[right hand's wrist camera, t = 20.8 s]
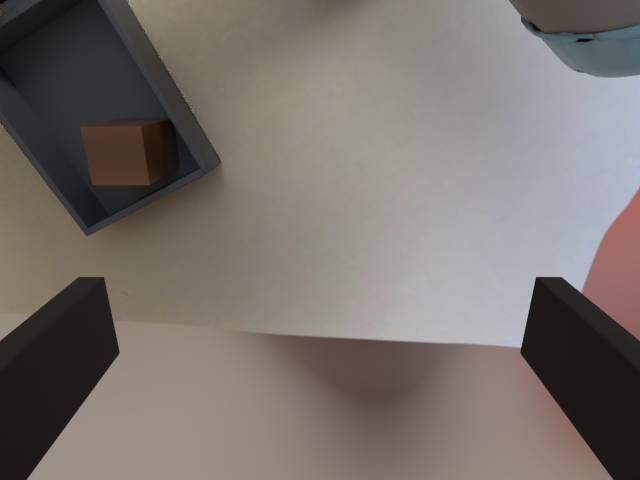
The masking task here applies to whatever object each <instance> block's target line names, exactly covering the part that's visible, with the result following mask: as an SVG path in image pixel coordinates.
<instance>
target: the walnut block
mask: <svg viewBox="0 0 640 480" xmlns="http://www.w3.org/2000/svg"><path fill="white" fill-rule="evenodd" d="M81 131H82V136H83V141H84V146H85V151H86V155H87V160H88V165H89V170H90V175H91V180H92V185H94V186H100V185H151V184H152V183H154V182H156V181H157V180H159V179H160V178H162V177H164V176H165V175H167V174H169V173H170V172H172V171H173V170H175V169H177V168H178V167H180V164H179V156H178V148H177V141H176V133H175V126H174V124H173V123H172V121H171V119H170V118H122V119H117V120H112V121H106V122H101V123H96V124H91V125H86V126H81Z"/></svg>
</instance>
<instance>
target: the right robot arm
mask: <svg viewBox="0 0 640 480" xmlns="http://www.w3.org/2000/svg"><path fill="white" fill-rule="evenodd" d="M509 1H510V2H511V3H512V5H513V6H514V7H515V8H516V10H517V11H518V12H519V14H520V15H521V21H522V23H523V24H524V26H525V27H526V29H527V30H528V31H530V32H531V33H532V34H534V35H536V36H538V37H540V38H542V39H543V41H544V42H545V43H546V44H547V45H548V46H549V47H550V48H551V50H552V51H553V52H554V53H555V54H556V55H557V56H558V57H559V58H560V60H561V61H562V62H563V63H564V64H565V65H567V66H568V67H570V68H571V69H573V70H575V71H577V72H582V73H587V74H589V75H594V76H597V77H626V76H634V75H640V0H509ZM119 353H120V352H119V347H118V343H117V338H116V333H115V328H114V323H113V319H112V314H111V309H110V304H109V299H108V295H107V290H106V285H105V280H104V277H78V278H77V279H76V280H75V281H73V282H72V283H71V284H70V285H68V286H67V287H66V288H65V289H63V290H62V291H61V292H60V293H59V294H57V295H56V296H55V297H54V298H52V299H51V300H50V301H49V302H48V303H46V304H45V305H44V306H43V307H41V308H40V309H39V310H38V311H37V312H35V313H34V314H33V315H32V316H30V317H29V318H28V319H27V320H26V321H24V322H23V323H22V324H21V325H19V326H18V327H17V328H16V329H14V330H13V331H12V332H11V333H10V334H8V335H7V336H6V337H5V338H3V339H2V340H1V341H0V480H27V478H28V477H29V476H30V474H31V473H32V472H33V470H34V469H35V467H36V466H37V465H38V463H39V462H40V461H41V459H42V458H43V457H44V455H45V454H46V453H47V451H48V450H49V448H50V447H51V446H52V444H53V443H54V442H55V440H56V439H57V437H58V436H59V435H60V433H61V432H62V431H63V429H64V428H65V427H66V425H67V424H68V423H69V421H70V420H71V419H72V417H73V416H74V414H75V413H76V412H77V410H78V409H79V408H80V406H81V405H82V404H83V402H84V401H85V399H86V398H87V397H88V395H89V394H90V393H91V391H92V390H93V389H94V387H95V386H96V384H97V383H98V382H99V380H100V379H101V378H102V376H103V375H104V374H105V372H106V371H107V370H108V368H109V367H110V365H111V364H112V363H113V361H114V360H115V359H116V357H117V356H118V355H119ZM520 353H521V354H522V356H523V357H524V359H525V360H526V361H527V363H528V364H529V365H530V367H531V368H532V369H533V371H534V372H535V374H536V375H537V376H538V378H539V379H540V380H541V382H542V383H543V384H544V386H545V387H546V389H547V390H548V391H549V393H550V394H551V395H552V397H553V398H554V399H555V401H556V402H557V403H558V405H559V406H560V408H561V409H562V410H563V412H564V413H565V414H566V416H567V417H568V418H569V420H570V421H571V423H572V424H573V425H574V427H575V428H576V429H577V431H578V432H579V433H580V435H581V436H582V438H583V439H584V440H585V442H586V443H587V444H588V446H589V447H590V448H591V450H592V451H593V453H594V454H595V455H596V457H597V458H598V459H599V461H600V462H601V463H602V465H603V466H604V468H605V469H606V470H607V472H608V473H609V474H610V476H611V477H612V478H613V480H640V341H639V340H638V339H637V338H635V337H634V336H633V335H632V334H630V333H629V332H628V331H627V330H625V329H624V328H623V327H622V326H621V325H619V324H618V323H617V322H616V321H615V320H613V319H612V318H611V317H610V316H608V315H607V314H606V313H605V312H603V311H602V310H601V309H600V308H599V307H597V306H596V305H595V304H594V303H592V302H591V301H590V300H589V299H588V298H586V297H585V296H584V295H583V294H581V293H580V292H579V291H578V290H577V289H575V288H574V287H573V286H572V285H570V284H569V283H568V282H567V281H565V280H564V279H563V278H562V277H536V280H535V285H534V290H533V295H532V299H531V304H530V309H529V314H528V319H527V323H526V328H525V333H524V338H523V342H522V347H521V352H520Z"/></svg>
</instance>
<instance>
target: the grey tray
mask: <svg viewBox="0 0 640 480" xmlns="http://www.w3.org/2000/svg"><path fill="white" fill-rule="evenodd" d="M0 9H1V10H2V11H3V13H4V14H3V15H2V16H0V122H1V124H2V125H3V126H4V128H5V129H6V130H7V132H8V133H9V134H10V136H11V137H12V138H13V139H14V141H15V142H16V143H17V145H18V146H19V147H20V149H21V150H22V151H23V153H24V154H25V155H26V157H27V158H28V159H29V161H30V162H31V163H32V165H33V166H34V167H35V168H36V170H37V171H38V172H39V174H40V175H41V176H42V178H43V179H44V180H45V182H46V183H47V184H48V186H49V187H50V188H51V190H52V191H53V192H54V194H55V195H56V196H57V198H58V199H59V200H60V201H61V203H62V204H63V205H64V207H65V208H66V209H67V211H68V212H69V213H70V215H71V216H72V217H73V219H74V220H75V221H76V223H77V224H78V225H79V227H80V228H81V229H82V230H83V232H84V233H85V234H86V236H89V235H91V234H93V233H95V232H96V231H98V230H100V229H102V228H104V227H106V226H108V225H110V224H112V223H113V222H115V221H117V220H119V219H121V218H123V217H125V216H127V215H129V214H131V213H132V212H134V211H136V210H138V209H140V208H142V207H144V206H146V205H148V204H149V203H151V202H153V201H155V200H157V199H159V198H161V197H163V196H165V195H166V194H168V193H170V192H172V191H174V190H176V189H178V188H180V187H182V186H183V185H185V184H187V183H189V182H191V181H193V180H195V179H197V178H199V177H201V176H202V175H204V174H206V173H208V172H210V171H211V170H212V169H213V168H215V167H216V166H217V165H218V164H219V163H221V160H220V158H219V157H218V155H217V153H216V152H215V150H214V148H213V146H212V145H211V143H210V141H209V140H208V138H207V136H206V135H205V133H204V131H203V130H202V128H201V126H200V124H199V123H198V121H197V119H196V118H195V116H194V114H193V113H192V111H191V109H190V108H189V106H188V104H187V102H186V101H185V99H184V97H183V96H182V94H181V92H180V91H179V89H178V87H177V86H176V84H175V82H174V81H173V79H172V77H171V75H170V74H169V72H168V70H167V69H166V67H165V65H164V64H163V62H162V60H161V59H160V57H159V55H158V53H157V52H156V50H155V48H154V47H153V45H152V43H151V42H150V40H149V38H148V37H147V35H146V33H145V32H144V30H143V28H142V26H141V25H140V23H139V21H138V20H137V18H136V16H135V15H134V13H133V11H132V10H131V8H130V6H129V4H128V3H127V1H126V0H7V1H6V2H4V3H3V4H1V8H0ZM122 118H170V119H171V121H172V123H173V124H174V126H175V133H176V141H177V148H178V156H179V164H180V167H178V168H177V169H175V170H173V171H172V172H170V173H169V174H167V175H165V176H164V177H162V178H160V179H159V180H157V181H156V182H154V183H152V184H151V185H100V186H94V185H92V180H91V175H90V170H89V165H88V160H87V155H86V151H85V146H84V141H83V136H82V131H81V126H86V125H91V124H96V123H101V122H106V121H112V120H117V119H122Z"/></svg>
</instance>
